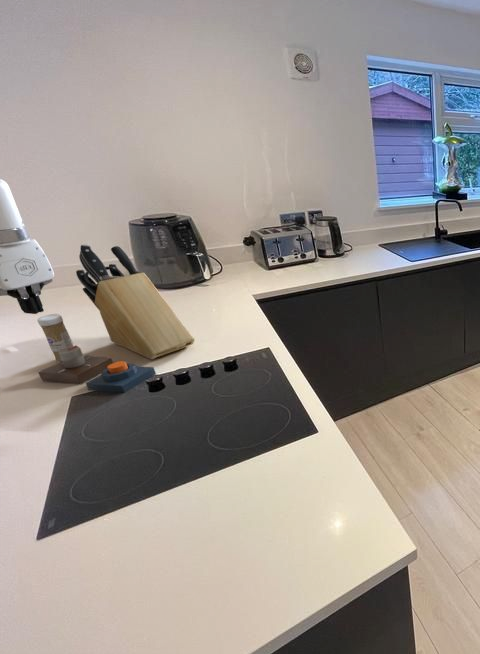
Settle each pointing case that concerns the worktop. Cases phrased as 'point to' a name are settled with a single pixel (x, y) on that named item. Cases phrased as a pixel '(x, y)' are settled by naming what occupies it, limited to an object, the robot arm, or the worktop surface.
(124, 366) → the orange push button
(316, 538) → the worktop surface
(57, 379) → the dial panel
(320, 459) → the worktop surface
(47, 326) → the sprinkles bottle
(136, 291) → the knife block
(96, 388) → the push button base
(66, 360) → the dial
